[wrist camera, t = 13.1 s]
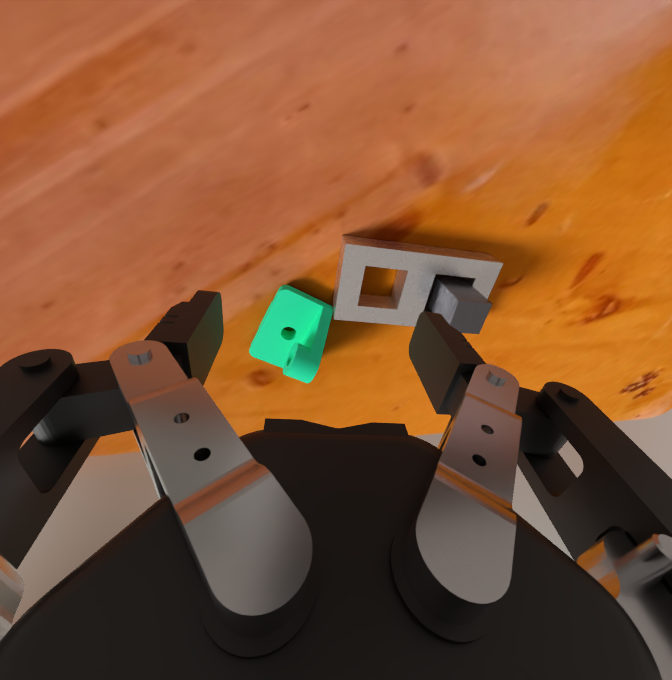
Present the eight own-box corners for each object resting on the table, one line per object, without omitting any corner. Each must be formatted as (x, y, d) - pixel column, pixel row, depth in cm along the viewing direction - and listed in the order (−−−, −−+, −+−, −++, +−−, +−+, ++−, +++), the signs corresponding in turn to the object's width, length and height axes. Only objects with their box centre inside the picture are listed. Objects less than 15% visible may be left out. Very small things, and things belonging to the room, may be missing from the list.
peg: (428, 269, 41) (458, 300, 33) (455, 271, 42) (492, 303, 33) (420, 295, 43) (447, 331, 35) (446, 297, 44) (478, 333, 36)
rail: (342, 234, 38) (345, 243, 34) (487, 253, 41) (503, 263, 37) (331, 305, 43) (333, 319, 40) (460, 317, 46) (472, 331, 43)
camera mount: (282, 279, 41) (275, 315, 32) (331, 302, 43) (337, 342, 35) (250, 344, 46) (236, 390, 37) (295, 362, 48) (292, 409, 40)
